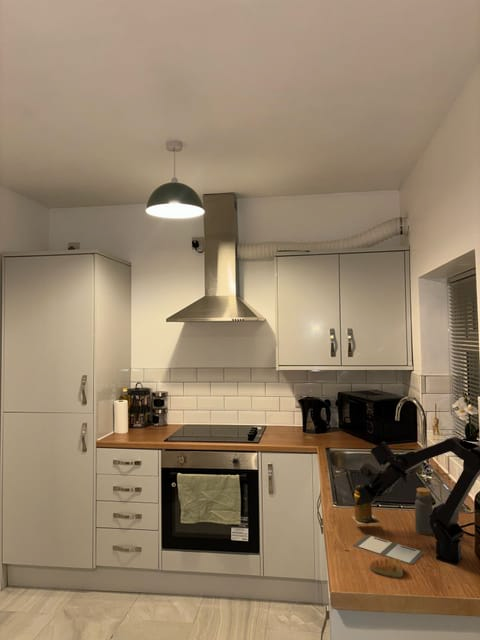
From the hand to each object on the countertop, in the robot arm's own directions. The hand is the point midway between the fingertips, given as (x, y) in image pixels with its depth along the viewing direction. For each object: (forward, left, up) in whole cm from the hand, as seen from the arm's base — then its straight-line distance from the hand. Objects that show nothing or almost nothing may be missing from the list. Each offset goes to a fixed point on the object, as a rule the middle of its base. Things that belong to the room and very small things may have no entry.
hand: (361, 501), depth 169 cm
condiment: (-1, -1, -7) cm, 7 cm away
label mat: (-14, +9, -10) cm, 20 cm away
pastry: (-20, +23, -10) cm, 32 cm away
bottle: (-19, -12, -10) cm, 24 cm away
